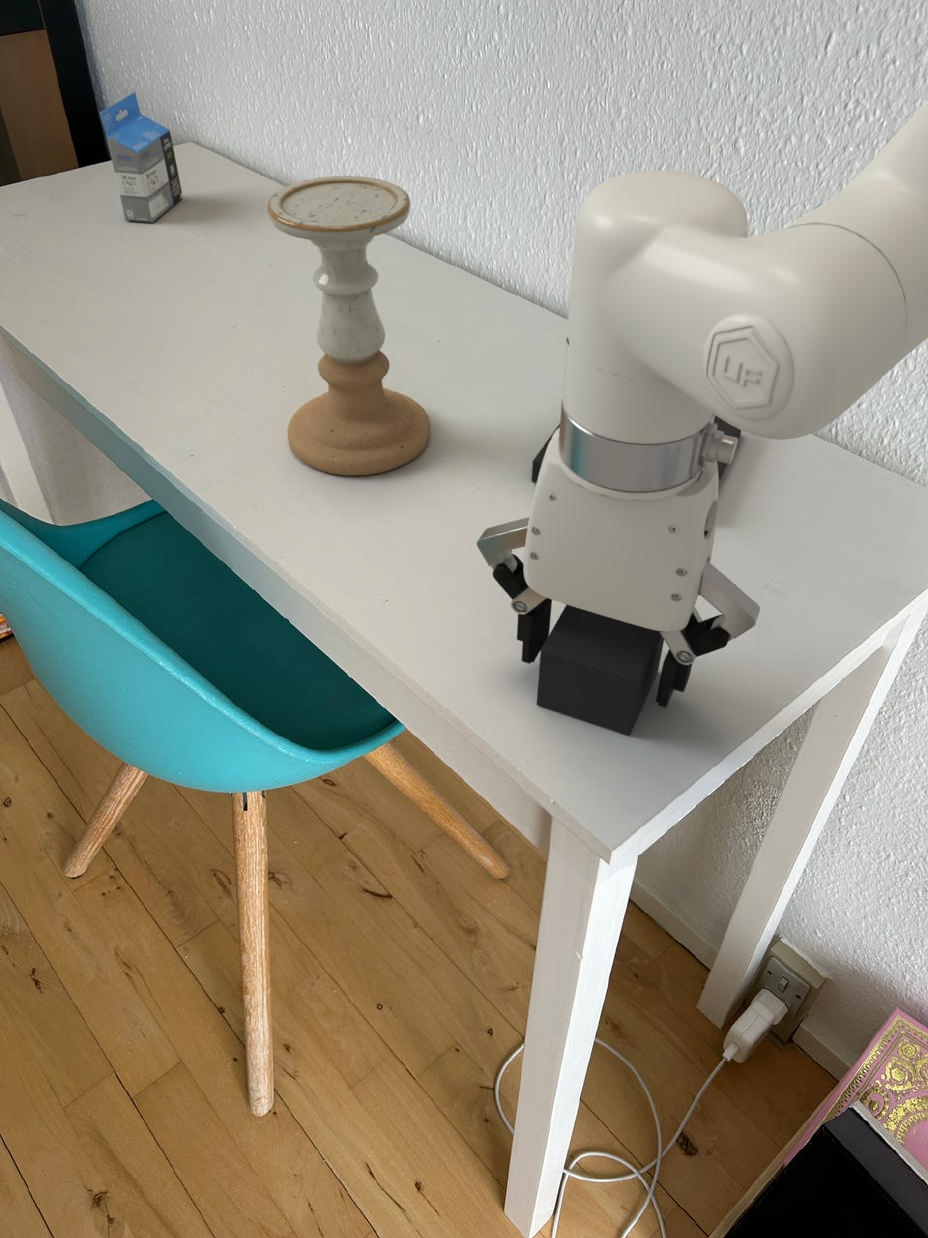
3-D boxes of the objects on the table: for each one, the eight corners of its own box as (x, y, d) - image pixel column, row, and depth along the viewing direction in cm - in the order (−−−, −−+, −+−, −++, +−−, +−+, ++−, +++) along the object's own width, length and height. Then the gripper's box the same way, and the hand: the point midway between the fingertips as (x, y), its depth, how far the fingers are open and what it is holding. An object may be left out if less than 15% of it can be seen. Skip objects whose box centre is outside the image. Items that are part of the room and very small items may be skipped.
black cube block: (658, 670, 64) (669, 615, 61) (629, 736, 60) (639, 681, 57) (569, 643, 66) (575, 587, 63) (536, 705, 62) (540, 649, 59)
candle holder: (275, 474, 81) (234, 230, 67) (303, 397, 90) (273, 168, 76) (423, 480, 80) (413, 235, 66) (437, 402, 89) (431, 171, 75)
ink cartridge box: (153, 224, 119) (129, 115, 111) (124, 221, 120) (98, 112, 112) (184, 197, 126) (164, 92, 117) (156, 195, 126) (134, 90, 118)
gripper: (817, 437, 50) (749, 672, 62) (504, 367, 55) (497, 595, 67) (788, 519, 45) (720, 757, 57) (448, 433, 50) (451, 667, 62)
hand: (600, 669), depth 62 cm, fingers open, 8 cm apart
